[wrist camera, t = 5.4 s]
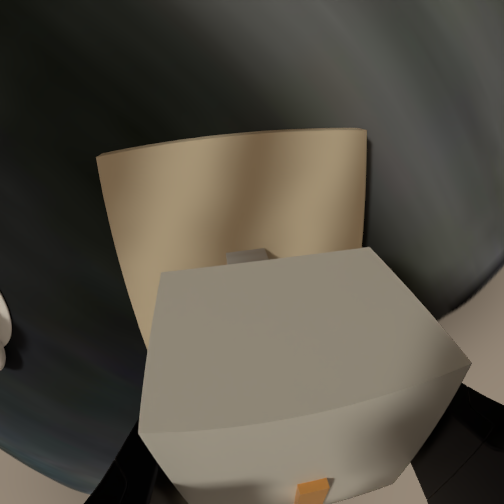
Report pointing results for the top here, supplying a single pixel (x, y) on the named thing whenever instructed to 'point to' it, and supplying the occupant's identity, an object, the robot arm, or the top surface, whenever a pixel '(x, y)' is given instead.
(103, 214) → the top surface
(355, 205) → the board
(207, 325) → the small white box
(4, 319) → the white ring with cylinder
